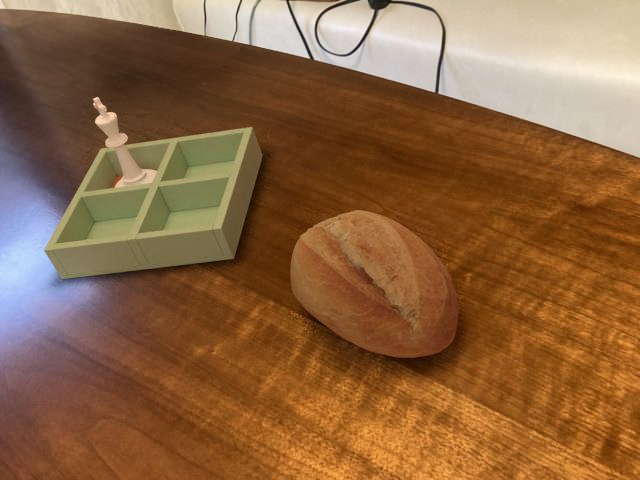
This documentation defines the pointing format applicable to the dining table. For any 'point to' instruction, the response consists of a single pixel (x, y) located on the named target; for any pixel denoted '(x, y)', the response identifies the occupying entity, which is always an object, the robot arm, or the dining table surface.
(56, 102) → the dining table surface
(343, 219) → the bread roll
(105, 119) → the chess piece
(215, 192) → the grid
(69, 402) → the dining table surface
